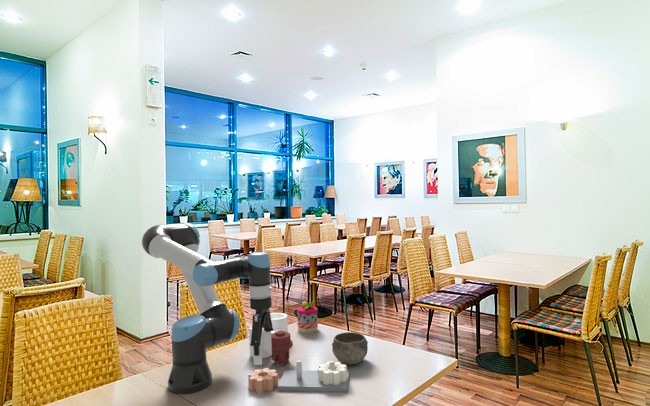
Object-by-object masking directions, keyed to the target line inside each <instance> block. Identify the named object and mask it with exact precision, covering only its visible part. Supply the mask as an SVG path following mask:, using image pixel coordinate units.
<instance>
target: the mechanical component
mask: <svg viewBox="0 0 650 406" xmlns="http://www.w3.org/2000/svg"><path fill="white" fill-rule="evenodd" d="M271 343H272V349H271V350H272V355H271V360H272V362H275V363H276V365H277V366H278V367H279V366H281V365H283V364H286V363H289V362H290V349H291V348H292V347H293V346H294V342H293V340H292V339H291V333H290V332H289V331H288V332H284V331H276V332H274V333H272V334H271Z"/></svg>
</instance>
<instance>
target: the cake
mask: <svg viewBox="0 0 650 406" xmlns="http://www.w3.org/2000/svg"><path fill="white" fill-rule="evenodd" d="M314 303H315V300H312V301H311V302H307V301H305V300H303V301H302V303H301V306H300V307H298V308H297V309H296V313H297V314H296V316H297V317H296V318H297V323H296V324H297V331H298V333H300V334H312V333H317V332H318V327H319V320H318V316H319V314H318V307H316V306H314Z"/></svg>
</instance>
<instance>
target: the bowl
mask: <svg viewBox="0 0 650 406" xmlns="http://www.w3.org/2000/svg"><path fill="white" fill-rule="evenodd" d="M368 344H369V342H368V340H367V339H366V337H365V335H364V334H362V333H359V332H352V331H351V332H350V331H349V332H347V331H346V332H341V333H338V334H336V335H335V336H334V337H333V340H332V343H331V346H332V347H331V348H332V353H333V355H334V357H335V358H336V359H337V360H338V362H341V364H342V365H344V364H345V365H346V366H349V365H351V366H352V365H356V364H359V363H361V362H362V361H363V360H364V359H365V358H366V356H367V354H368V351H369V350H368V349H369V348H368V346H369V345H368Z"/></svg>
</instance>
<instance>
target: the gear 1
mask: <svg viewBox="0 0 650 406" xmlns="http://www.w3.org/2000/svg"><path fill="white" fill-rule="evenodd" d="M247 377H248V378H247V380H248V381H247V382H248V383H247V384H248V387H249V388H248V390H250V391H251V392H252V391H256V393H263V392H265V391H267V392H271V391H273V390H274V388H275V387H276V388H278V384H279V379H278V378H279V377H278V371H277V370H276V369H275V368H274V369H270V368H269V367H265V368H263V369H260V368H259V369H258V368H257V369H253V372H249V373H248V375H247Z"/></svg>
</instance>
